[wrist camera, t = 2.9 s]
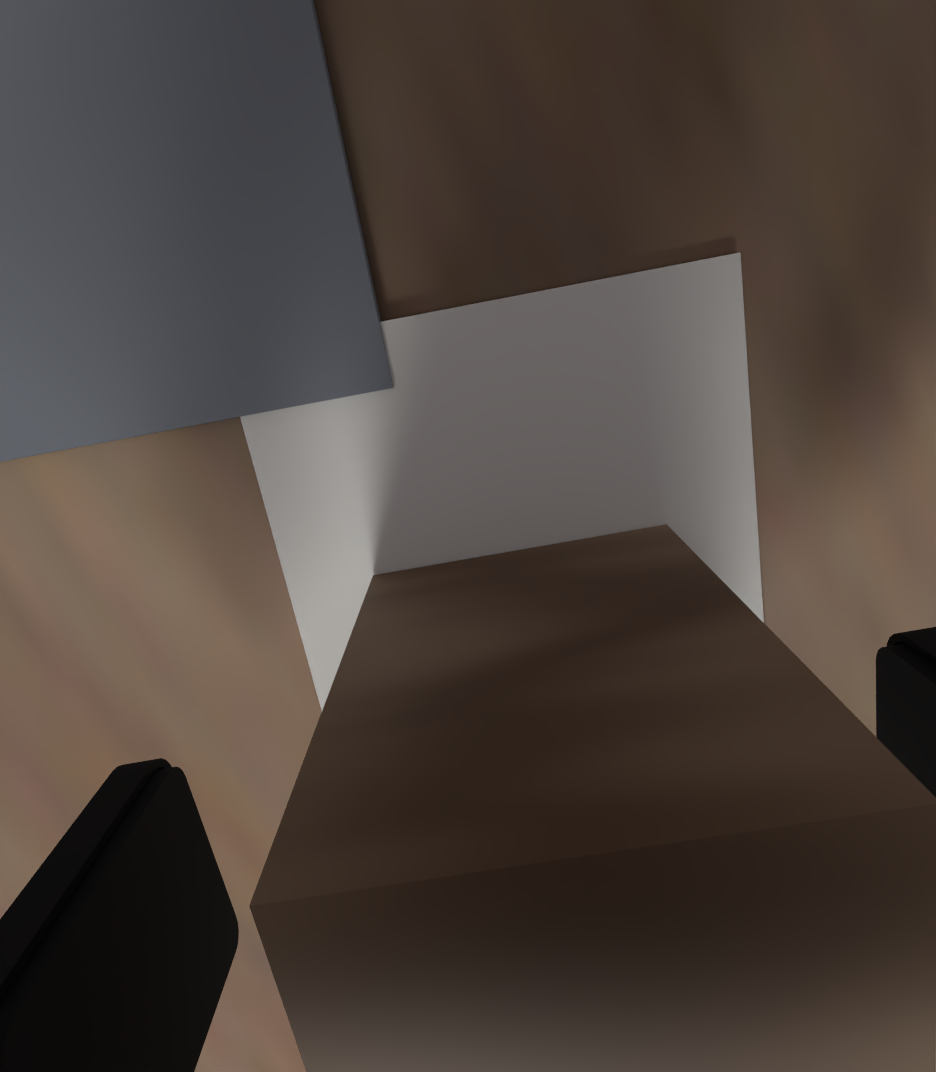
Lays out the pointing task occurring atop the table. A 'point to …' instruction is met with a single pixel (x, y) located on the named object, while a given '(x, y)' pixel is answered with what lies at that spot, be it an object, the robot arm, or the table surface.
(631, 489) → the card
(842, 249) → the table surface
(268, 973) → the table surface
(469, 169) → the table surface
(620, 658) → the walnut block
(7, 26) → the rubber mat
